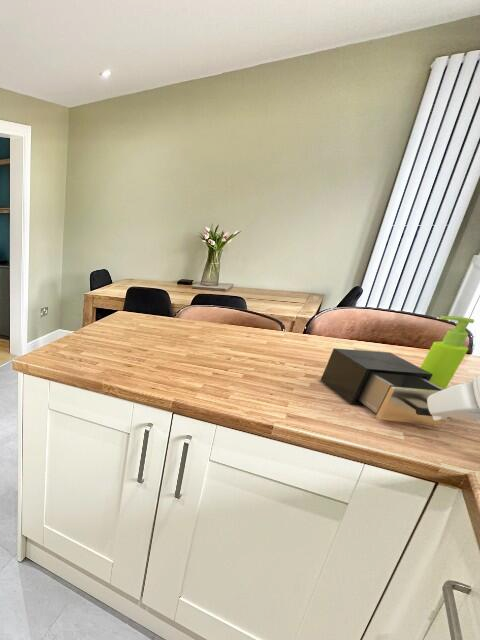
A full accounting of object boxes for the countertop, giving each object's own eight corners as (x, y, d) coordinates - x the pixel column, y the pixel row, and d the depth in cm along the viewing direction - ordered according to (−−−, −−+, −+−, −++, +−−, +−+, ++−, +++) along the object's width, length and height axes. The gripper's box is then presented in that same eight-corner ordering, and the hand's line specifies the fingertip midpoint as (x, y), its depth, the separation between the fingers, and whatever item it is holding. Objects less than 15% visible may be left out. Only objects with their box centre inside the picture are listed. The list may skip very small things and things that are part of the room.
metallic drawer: (460, 438, 83) (480, 405, 79) (393, 430, 85) (410, 398, 82) (399, 398, 99) (413, 370, 96) (344, 393, 102) (357, 365, 98)
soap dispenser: (403, 384, 109) (440, 312, 100) (440, 392, 104) (483, 318, 96) (403, 391, 105) (442, 317, 96) (442, 399, 100) (486, 323, 92)
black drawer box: (413, 410, 95) (433, 374, 91) (350, 404, 98) (367, 368, 94) (374, 385, 108) (390, 352, 104) (320, 380, 111) (333, 348, 107)
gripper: (634, 386, 62) (534, 411, 74) (468, 372, 66) (400, 398, 79) (649, 425, 60) (543, 444, 72) (476, 408, 64) (406, 429, 77)
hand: (467, 420), depth 76 cm, fingers open, 8 cm apart
